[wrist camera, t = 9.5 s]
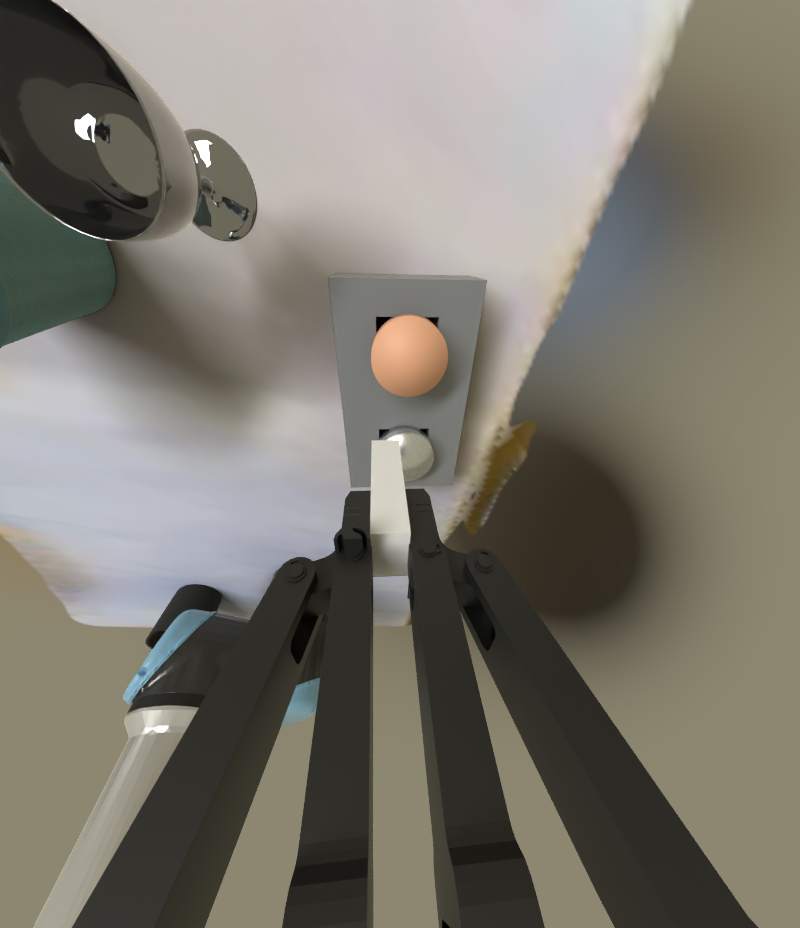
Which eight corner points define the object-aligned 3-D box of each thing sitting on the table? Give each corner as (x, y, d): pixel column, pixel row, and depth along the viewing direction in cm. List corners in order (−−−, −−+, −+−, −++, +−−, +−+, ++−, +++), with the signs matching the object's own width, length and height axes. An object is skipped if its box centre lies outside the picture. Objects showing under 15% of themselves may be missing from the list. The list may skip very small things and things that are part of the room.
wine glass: (204, 258, 28) (74, 262, 16) (138, 143, 23) (-117, 26, 11) (278, 229, 27) (199, 211, 15) (224, 103, 22) (47, -70, 10)
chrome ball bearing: (424, 450, 42) (431, 481, 36) (376, 451, 41) (376, 482, 36) (427, 406, 38) (436, 433, 32) (374, 407, 37) (374, 434, 32)
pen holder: (176, 579, 58) (144, 630, 50) (226, 587, 61) (203, 637, 53) (175, 601, 63) (146, 652, 55) (221, 608, 66) (200, 657, 58)
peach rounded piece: (432, 372, 34) (443, 396, 28) (373, 372, 33) (372, 397, 28) (438, 305, 30) (452, 318, 24) (370, 304, 29) (369, 317, 24)
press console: (444, 459, 45) (452, 484, 40) (353, 461, 44) (351, 487, 39) (469, 275, 30) (486, 280, 25) (336, 273, 29) (327, 277, 25)
